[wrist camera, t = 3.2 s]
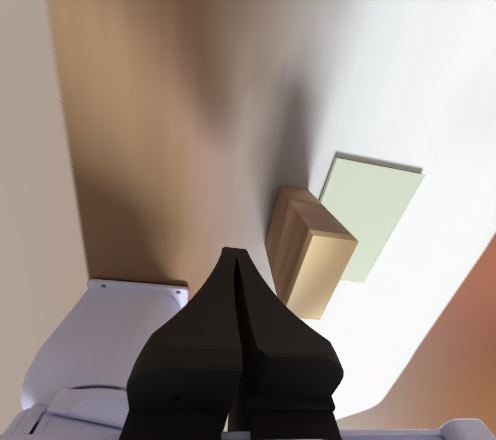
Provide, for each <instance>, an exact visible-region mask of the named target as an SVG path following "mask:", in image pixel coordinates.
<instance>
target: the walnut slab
mask: <svg viewBox="0 0 496 440" xmlns="http://www.w3.org/2000/svg"><path fill="white" fill-rule="evenodd" d="M358 242H359V241H358V240H357V239H356V238H355V237H354V236H353V235H352V234H351V233H350V232H349V231H348V230H347V229H346V228H345V227H344V226H343V225H342V224H341V223H340V222H339V221H338V220H337V219H336V218H335V217H334V216H333V215H332V214H331V213H330V212H329V211H328V210H327V209H326V208H325V207H324V206H323V205H322V203H321V202H320V201H319V200H318V199H317V198H316V197H315V196H314V195H313V194H312V193H311V192H310V191H309V190H304V189H298V188H292V187H286V186H280V189H279V192H278V196H277V200H276V204H275V208H274V211H273V215H272V219H271V223H270V226H269V230H268V234H267V238H266V242H265V248H266V252H267V256H268V261H269V265H270V269H271V273H272V277H273V281H274V285H275V289H276V293H277V297H278V298H279V300H280V301H281V302H282V303H283V304H284V305H285V306H286V307H287V308H288V309H289V310H290V311H292V312H293V313H294V314H295V315H296V316H297V317H298V318H304V319H318V320H320V318H321V316H322V314H323V312H324V310H325V308H326V306H327V304H328V302H329V300H330V298H331V296H332V294H333V292H334V290H335V288H336V286H337V284H338V282H339V280H340V278H341V276H342V274H343V272H344V270H345V268H346V266H347V264H348V262H349V260H350V258H351V256H352V254H353V252H354V250H355V248H356V246H357V244H358Z"/></svg>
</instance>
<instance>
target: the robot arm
mask: <svg viewBox="0 0 496 440" xmlns="http://www.w3.org/2000/svg"><path fill="white" fill-rule="evenodd" d="M87 285H88V290H87V292H86V293H85V294H84V295H83V297H82V298H81V299H80V300H79V301H78V303H77V304H76V305H75V306H74V308H73V309H72V310H71V311H70V312H69V314H68V315H67V316H66V317H65V319H64V320H63V321H62V322H61V324H60V325H59V326H58V327H57V328H56V330H55V331H54V332H53V333H52V335H51V336H50V337H49V338H48V339H47V341H46V342H45V343H44V345H43V346H42V347H41V349H40V350H39V352H38V353H37V355H36V356H35V358H34V360H33V362H32V364H31V365H30V368H29V370H28V372H27V374H26V376H25V379H24V382H23V385H22V389H21V406H22V408H23V410H24V411H22V412H20V413H19V414H17V415H16V417H15V418H14V419H13V421H12V423H11V424H10V425H9V426H8V428H7V429H6V430H5V432H4V433H3V435H0V440H496V438H495V436H494V435H493V434H492V433H491V432H490V430H489V429H488V428H487V427H486V425H485V424H484V423H483V422H482V420H480V419H478V418H477V419H475V418H466V419H465V418H462V419H452V420H449V421H447V422H445V423H444V424H442V426H440V429H392V430H339V429H338V426H337V423H336V420H335V417H334V414H333V411H334V410H335V405H334V402H333V399H332V396H331V395H332V394H333V393H334V391H335V390H336V388H337V387H338V385H339V384H340V382H341V380H342V378H343V368H342V366H341V364H340V361H339V359H338V357H337V354H336V352H335V350H334V349H333V347H332V345H331V343H330V341H328V340H327V339H325V338H324V337H323V336H321V335H320V334H318V333H317V332H316V331H314V330H313V329H312V328H310V327H309V326H308V325H307V324H305V323H304V322H303V321H302V320H301V319H299V318H298V317H297V316H296V315H295V314H294V313H293V312H292V311H290V310H289V309H288V308H287V307H286V306H285V305H284V304H283V303H282V302H281V301H280V300H279V298H278V297H277V296H276V295H275V294H274V293H273V291H272V290H271V289H270V288H269V286H268V285H267V284H266V282H265V281H264V279H263V278H262V276H261V275H260V273H259V272H258V270H257V269H256V267H255V265H254V263H253V262H252V260H251V258H250V256H249V254H248V252H247V250H246V249H238V248H230V247H224V248H222V253H221V256H220V258H219V260H218V262H217V264H216V266H215V268H214V270H213V271H212V273H211V274H210V276H209V278H208V279H207V280H206V282H205V283H204V285H203V286H202V287H201V288H200V290H199V291H198V292H197V293H196V294H195V295H194V297H193V298H192V299H191V300H190V301H189V302H188V292H189V290H188V288H187V287H183V286H171V285H159V284H147V283H136V282H124V281H112V280H100V279H91V280H90V281H89V282H88V283H87ZM177 290H178V291H177ZM228 413H229V414H228ZM227 416H228V432H223V430H224V426H225V423H226V419H227Z"/></svg>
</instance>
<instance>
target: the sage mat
mask: <svg viewBox="0 0 496 440" xmlns="http://www.w3.org/2000/svg"><path fill="white" fill-rule="evenodd" d="M424 176H425V175H424V174H420V173H415V172H409V171H404V170H399V169H394V168H388V167H383V166H378V165H373V164H367V163H362V162H357V161H352V160H347V159H341V158H336V157H335V158H334V161H333V164H332V167H331V170H330V172H329V175H328V178H327V181H326V183H325V186H324V189H323V192H322V194H321V197H320V200H319V201H320V202H321V203H322V205H323V206H324V207H325V208H326V209H327V210H328V211H329V212H330V213H331V214H332V215H333V216H334V217H335V218H336V219H337V220H338V221H339V222H340V223H341V224H342V225H343V226H344V227H345V228H346V229H347V230H348V231H349V232H350V233H351V234H352V235H353V236H354V237H355V238H356V239H357V240H358V241H359V242H358V244H357V246H356V248H355V250H354V252H353V254H352V256H351V258H350V260H349V262H348V264H347V266H346V268H345V270H344V272H343V274H342V276H341V278H340V280H344V281H354V282H364V281H365V280H366V278H367V276H368V274H369V273H370V271H371V269H372V267H373V266H374V264H375V262H376V260H377V259H378V257H379V255H380V253H381V252H382V250H383V248H384V246H385V245H386V243H387V241H388V239H389V238H390V236H391V234H392V232H393V231H394V229H395V227H396V225H397V224H398V222H399V220H400V218H401V217H402V215H403V213H404V211H405V210H406V208H407V206H408V204H409V203H410V201H411V199H412V197H413V196H414V194H415V192H416V190H417V189H418V187H419V185H420V183H421V182H422V180H423V178H424Z"/></svg>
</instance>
